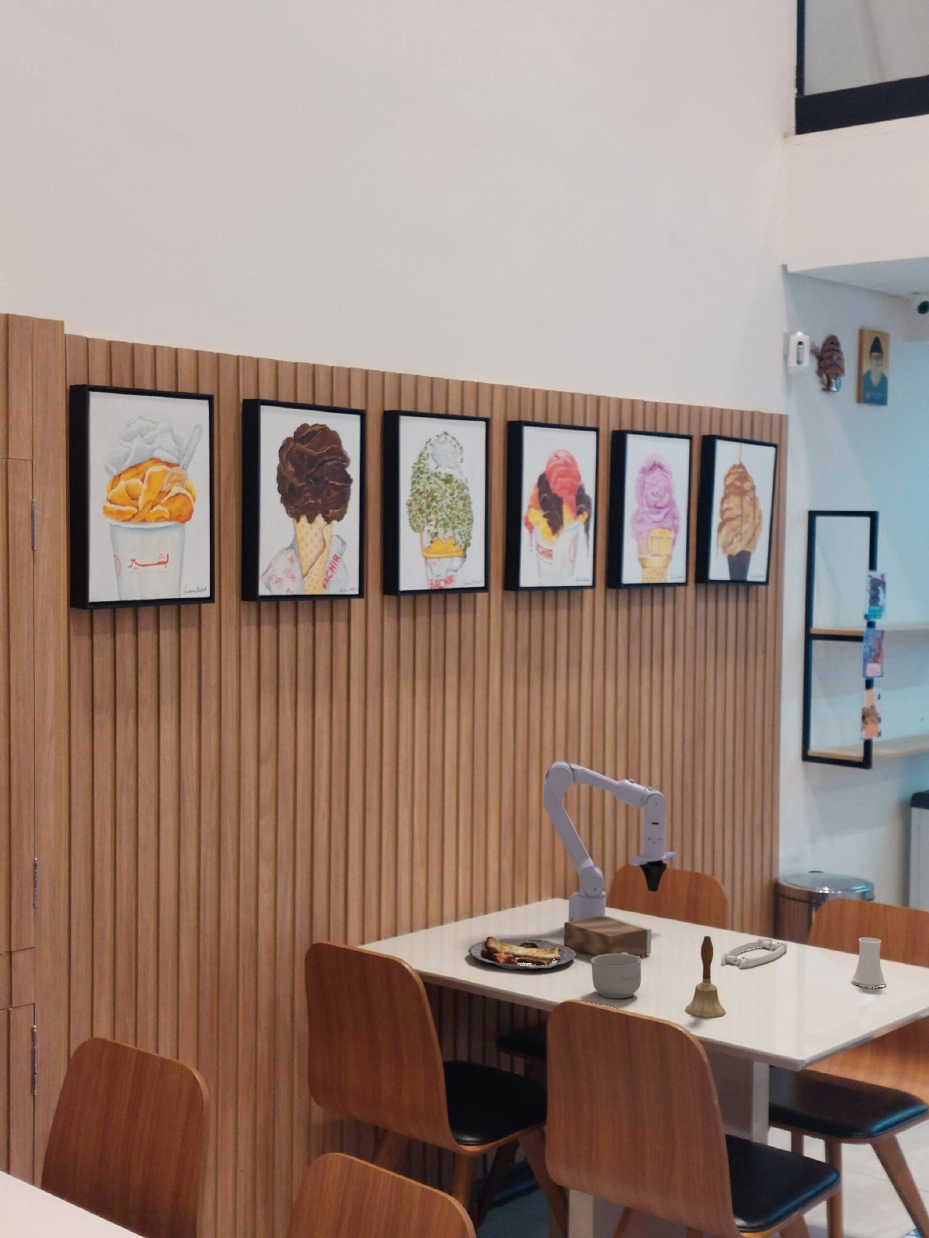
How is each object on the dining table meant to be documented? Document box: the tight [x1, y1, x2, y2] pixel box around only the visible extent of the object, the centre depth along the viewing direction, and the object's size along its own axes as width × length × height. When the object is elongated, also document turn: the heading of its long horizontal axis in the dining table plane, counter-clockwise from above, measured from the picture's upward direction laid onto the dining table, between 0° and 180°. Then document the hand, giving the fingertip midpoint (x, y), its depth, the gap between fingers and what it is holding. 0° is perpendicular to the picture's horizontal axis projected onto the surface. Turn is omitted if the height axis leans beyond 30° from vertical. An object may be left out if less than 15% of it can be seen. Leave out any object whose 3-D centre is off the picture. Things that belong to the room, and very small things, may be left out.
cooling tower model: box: [851, 936, 887, 989], centre depth 324 cm, size 8×8×10 cm
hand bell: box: [685, 935, 726, 1019], centre depth 300 cm, size 8×8×16 cm
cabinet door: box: [602, 915, 652, 955], centre depth 351 cm, size 17×2×6 cm, turn 37°
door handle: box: [721, 937, 788, 970], centre depth 345 cm, size 3×10×25 cm
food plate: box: [468, 935, 577, 971], centre depth 338 cm, size 25×23×4 cm
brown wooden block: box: [563, 916, 647, 959], centre depth 346 cm, size 16×12×6 cm
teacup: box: [590, 952, 642, 999], centre depth 312 cm, size 14×11×8 cm
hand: (652, 890), depth 368 cm, fingers closed
